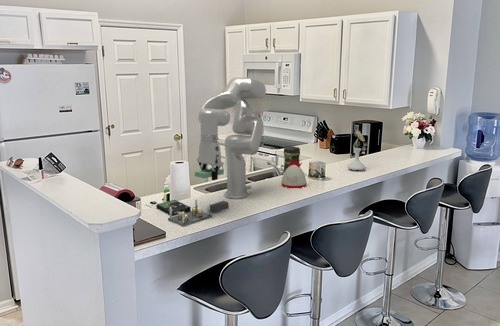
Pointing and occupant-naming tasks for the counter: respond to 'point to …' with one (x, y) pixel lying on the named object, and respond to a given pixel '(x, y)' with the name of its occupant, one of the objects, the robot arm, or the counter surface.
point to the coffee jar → (290, 155)
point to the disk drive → (173, 207)
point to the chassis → (190, 216)
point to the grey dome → (294, 176)
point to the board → (207, 173)
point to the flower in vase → (357, 156)
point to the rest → (219, 206)
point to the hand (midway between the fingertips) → (209, 178)
